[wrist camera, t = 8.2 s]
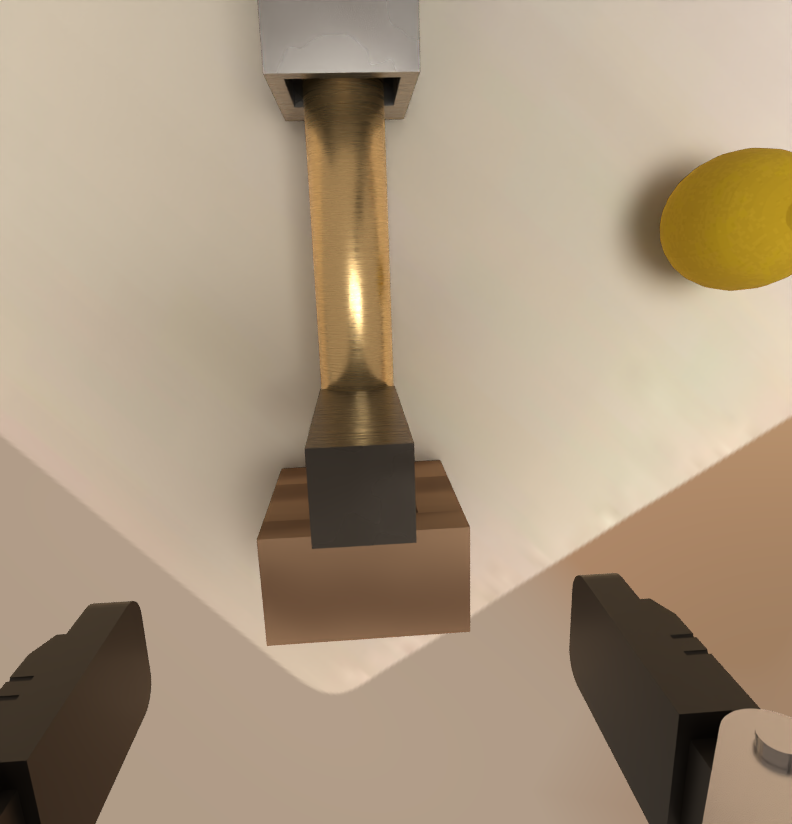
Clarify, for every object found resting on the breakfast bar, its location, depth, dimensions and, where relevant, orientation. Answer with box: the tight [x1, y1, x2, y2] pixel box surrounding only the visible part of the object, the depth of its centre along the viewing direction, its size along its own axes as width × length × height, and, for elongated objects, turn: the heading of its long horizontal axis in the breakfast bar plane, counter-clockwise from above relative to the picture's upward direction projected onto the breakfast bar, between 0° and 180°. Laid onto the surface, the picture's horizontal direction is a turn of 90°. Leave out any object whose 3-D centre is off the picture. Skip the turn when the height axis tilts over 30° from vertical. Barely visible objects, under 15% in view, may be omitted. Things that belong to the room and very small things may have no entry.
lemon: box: [660, 148, 792, 291], centre depth 25 cm, size 6×6×8 cm
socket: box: [257, 460, 470, 646], centre depth 27 cm, size 4×8×8 cm, turn 92°
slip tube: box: [302, 78, 417, 549], centre depth 21 cm, size 22×3×10 cm, turn 2°
